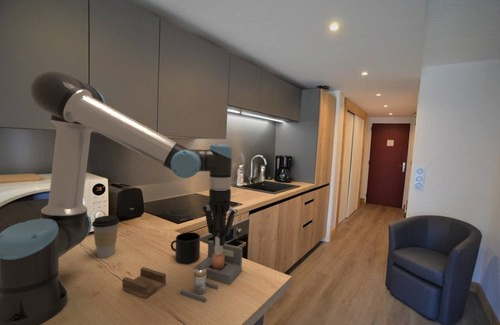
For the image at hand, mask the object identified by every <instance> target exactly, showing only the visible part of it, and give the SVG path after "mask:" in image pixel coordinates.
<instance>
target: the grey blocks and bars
mask: <svg viewBox="0 0 500 325" xmlns="http://www.w3.org/2000/svg"><path fill="white" fill-rule="evenodd" d="M213 253H215V244H214V243H213V240H208V241H207V256H206V258H204V259H202V260H201V261H200V262H199V263H197V264H196V265H195V266H194V268H195V267H197V266H205V267H206V268H207V278H206V279H209V280H212V281H215V282H219V283H222V284H225V285H228V286H231V285H232V283H233V282H234V281H235V279H236V278H237V277H238V276H239V275H240V274H241V273H242V272H243V271H242V270H243V269H242V268H243V247H240V246H236V245H233V244H227V243H225V244H224V245H223V251H222V253H224V255H225V256H224V267H223V268H221V269H215V268H213V267H212V254H213ZM206 287H207V288H210V289H214V290H218V289H219V285H218V284H216V283H212V282H210V281H208V280H206ZM179 291H180V293H179V294H180V295H183V296H186V297H189V298H191V299H194V300H197V301H200V302H202V303H206V302H207V296H204V295H198V294H195V293H193V292H191V291H189V290H185V289H183V288H181V290H179Z"/></svg>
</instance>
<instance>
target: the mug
mask: <svg viewBox="0 0 500 325" xmlns="http://www.w3.org/2000/svg"><path fill="white" fill-rule="evenodd" d="M174 244H175V247H174ZM170 248H171V250H172V251H173V252H175V261H176V262H177V263H179V264H193V263H195V262H197V261H199V259H200V256H201V254H200V253H201V249H200V248H201V236H200V234H199V233H197V232H192V231H191V232H190V231H189V232H182V233H179V234H178V235H176V236H175V239H174V240H173V241H171V243H170Z"/></svg>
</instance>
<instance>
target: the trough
mask: <svg viewBox="0 0 500 325" xmlns="http://www.w3.org/2000/svg"><path fill="white" fill-rule="evenodd" d="M166 274H167V273H163V272H160V271H157V270H155V269H151V268H149V267H148V268H147V267H144V266H142V267H141V268H140V274H139V275H138V276H137V277H135V278H134V279H133V278H130V277H127V276H125V277H123V278H122V280H121V281H122V285H121V286H122V290H124V291H126V292H128V293H131V294H134V295H136V296H139V297H141V298H144V299H148V298H149V297H151V295H153V294H154V293H155V292H157V291H159V290H160V289H162V287H164V286H165V285H166V284H167V275H166Z"/></svg>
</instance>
